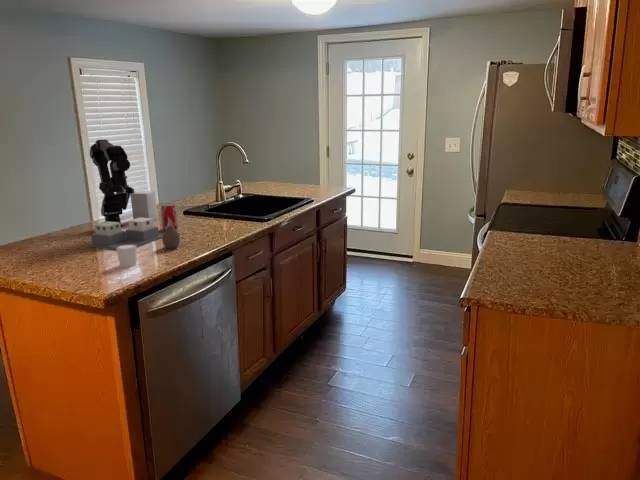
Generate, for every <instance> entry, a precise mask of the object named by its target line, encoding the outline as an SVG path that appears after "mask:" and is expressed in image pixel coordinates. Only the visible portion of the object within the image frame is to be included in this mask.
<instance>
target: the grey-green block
mask: <svg viewBox="0 0 640 480" xmlns="http://www.w3.org/2000/svg"><path fill="white" fill-rule="evenodd" d="M121 225H122V224H121ZM121 225H120V222H110V221H107V222H105V221H103V222H100V223H96V224H94V231H95V233H96V235H105V236H110V235H113V234H116V233H120V232H121V231H122V227H121Z"/></svg>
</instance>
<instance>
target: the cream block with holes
mask: <svg viewBox="0 0 640 480" xmlns="http://www.w3.org/2000/svg"><path fill="white" fill-rule="evenodd" d="M128 227H129V229H130V230H134V231H146V230H149V229H152V228H154V227H155V225H154V221H153V218H141V217H140V218H136V219H133V218H132V219H131V220H128Z"/></svg>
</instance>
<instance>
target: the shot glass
mask: <svg viewBox="0 0 640 480" xmlns="http://www.w3.org/2000/svg"><path fill="white" fill-rule="evenodd" d="M116 249H117V250H116V253H117V257H118V261H119V266H120V268H132V267H135V266H137V261H138V260H137V247H136V245H121V246H118V247H117V248H116Z"/></svg>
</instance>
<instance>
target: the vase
mask: <svg viewBox="0 0 640 480" xmlns="http://www.w3.org/2000/svg"><path fill="white" fill-rule="evenodd" d="M162 235H163V238H161V240H162V243H163V246H164V247H165V248H166V249H168V250H170V249H171V250H173V249H177V248H178V247H179V246H180V243H181V236H180V233H179V231H177V229H176V230H175V229H174V227H173V226H168V227H167V229H166V230H164V232H163V234H162Z"/></svg>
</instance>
